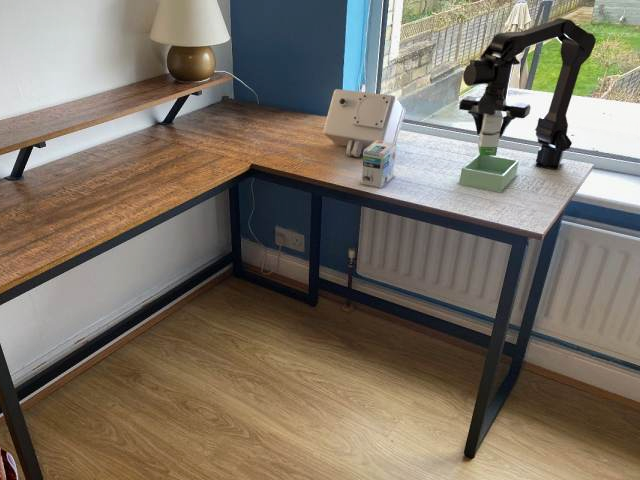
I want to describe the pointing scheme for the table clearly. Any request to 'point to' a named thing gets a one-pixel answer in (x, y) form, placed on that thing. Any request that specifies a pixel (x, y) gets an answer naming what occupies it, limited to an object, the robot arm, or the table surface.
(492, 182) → the open green storage box
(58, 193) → the table surface
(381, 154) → the light bulb box
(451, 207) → the table surface
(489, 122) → the ink box
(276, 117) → the table surface
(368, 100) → the junction box
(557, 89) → the robot arm
